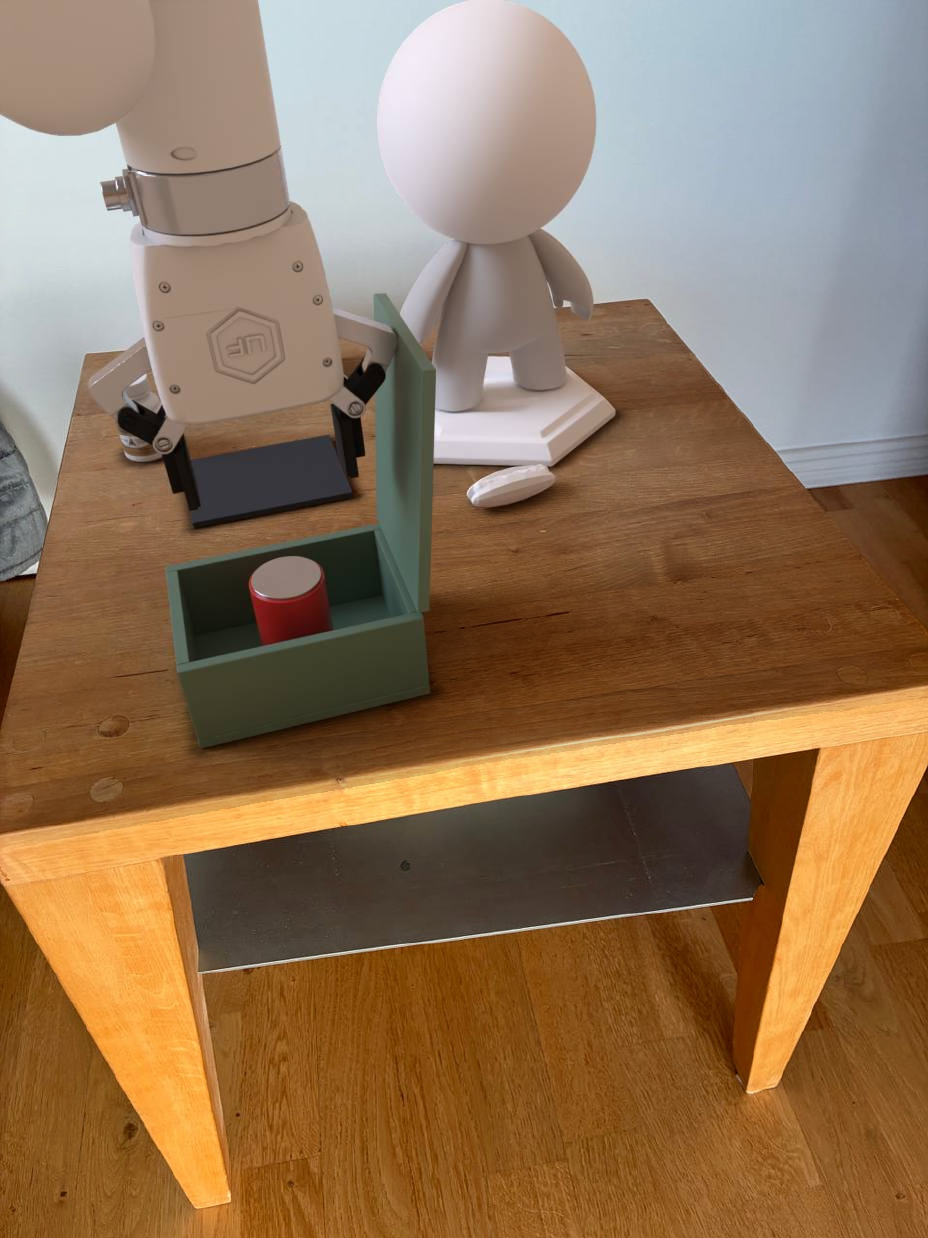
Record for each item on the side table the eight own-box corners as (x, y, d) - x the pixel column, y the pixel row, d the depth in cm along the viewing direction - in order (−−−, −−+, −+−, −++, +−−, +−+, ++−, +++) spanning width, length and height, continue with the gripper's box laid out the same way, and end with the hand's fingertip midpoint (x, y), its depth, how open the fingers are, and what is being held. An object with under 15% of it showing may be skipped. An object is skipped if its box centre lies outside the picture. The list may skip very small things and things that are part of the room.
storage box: (200, 749, 63) (177, 673, 59) (186, 639, 72) (164, 565, 68) (430, 693, 67) (424, 617, 62) (390, 595, 75) (382, 522, 71)
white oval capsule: (559, 495, 85) (559, 467, 83) (476, 519, 83) (475, 491, 81) (542, 478, 87) (542, 451, 86) (461, 501, 85) (460, 474, 83)
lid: (422, 370, 52) (436, 369, 52) (373, 293, 60) (386, 292, 60) (417, 613, 62) (429, 611, 62) (376, 517, 70) (387, 516, 71)
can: (272, 688, 66) (253, 607, 62) (261, 643, 70) (243, 562, 66) (343, 671, 67) (330, 590, 63) (329, 628, 71) (316, 548, 67)
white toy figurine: (536, 350, 108) (540, -26, 86) (646, 441, 92) (685, 7, 69) (367, 388, 102) (323, -3, 80) (451, 493, 86) (425, 38, 64)
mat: (193, 528, 83) (192, 522, 83) (183, 466, 91) (182, 460, 91) (353, 497, 86) (352, 491, 86) (329, 439, 94) (329, 434, 94)
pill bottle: (118, 462, 92) (95, 387, 88) (137, 439, 96) (116, 366, 91) (161, 464, 92) (140, 389, 87) (179, 441, 95) (160, 368, 90)
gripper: (30, 241, 44) (131, 546, 55) (397, 189, 48) (423, 485, 59) (35, 195, 50) (126, 480, 61) (364, 150, 53) (393, 428, 64)
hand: (272, 482), depth 60 cm, fingers open, 9 cm apart
